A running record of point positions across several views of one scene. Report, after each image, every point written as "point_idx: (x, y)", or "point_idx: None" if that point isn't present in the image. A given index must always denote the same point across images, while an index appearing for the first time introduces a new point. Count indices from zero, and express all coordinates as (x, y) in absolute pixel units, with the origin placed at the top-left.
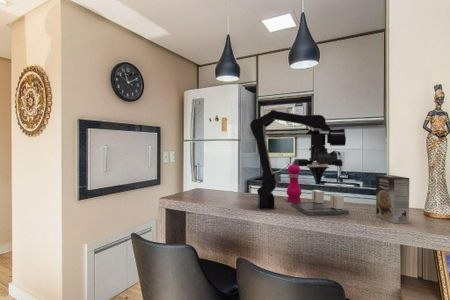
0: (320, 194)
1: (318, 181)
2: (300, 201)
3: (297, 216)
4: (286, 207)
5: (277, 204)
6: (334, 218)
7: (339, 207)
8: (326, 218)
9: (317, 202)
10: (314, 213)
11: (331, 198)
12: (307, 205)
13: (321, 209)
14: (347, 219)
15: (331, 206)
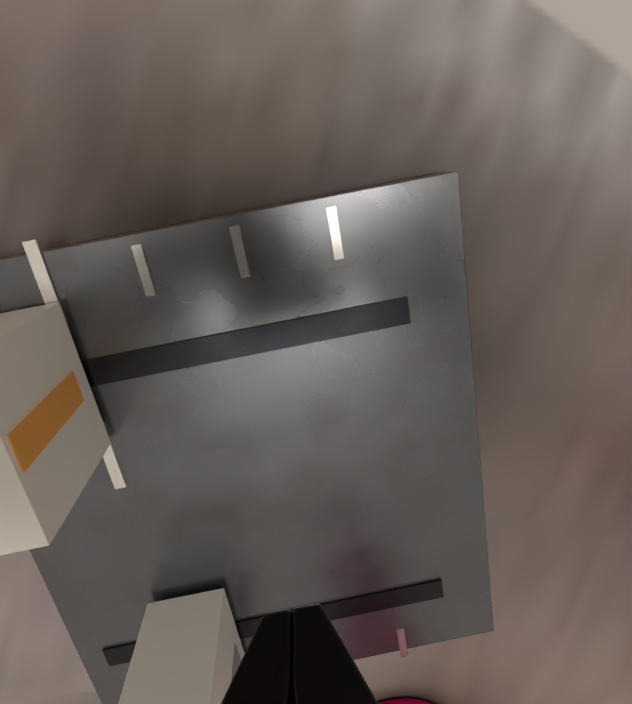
0: (166, 690)
1: (291, 648)
2: (381, 652)
3: (579, 126)
4: (552, 506)
5: (595, 607)
6: (165, 50)
7: (11, 313)
8: (266, 44)
9: (221, 593)
10: (373, 186)
11: (59, 478)
12: (363, 488)
13: (256, 306)
14: (7, 3)
15: (99, 420)
